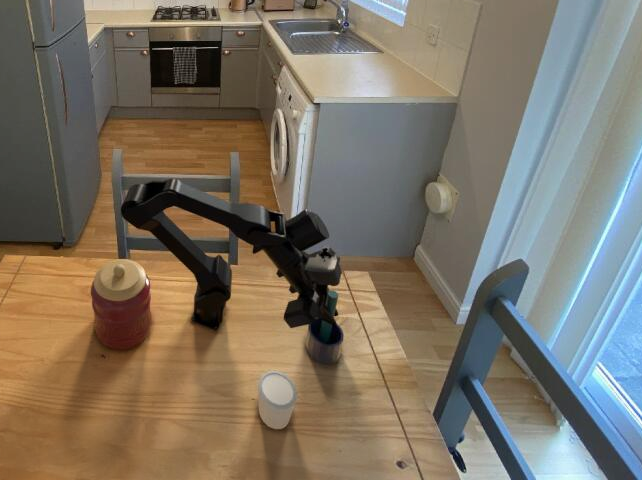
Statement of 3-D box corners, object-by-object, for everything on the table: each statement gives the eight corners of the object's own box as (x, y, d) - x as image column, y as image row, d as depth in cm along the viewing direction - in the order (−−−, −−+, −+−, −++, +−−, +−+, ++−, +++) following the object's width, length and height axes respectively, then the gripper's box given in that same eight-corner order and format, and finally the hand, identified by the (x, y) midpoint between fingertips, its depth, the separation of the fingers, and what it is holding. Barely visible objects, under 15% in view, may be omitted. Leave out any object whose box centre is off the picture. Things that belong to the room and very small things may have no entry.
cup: (303, 356, 88) (306, 338, 86) (307, 329, 94) (310, 312, 92) (338, 369, 86) (342, 351, 84) (340, 341, 91) (344, 323, 89)
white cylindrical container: (294, 437, 75) (299, 412, 72) (255, 428, 76) (258, 404, 73) (291, 397, 81) (295, 373, 78) (255, 390, 82) (257, 366, 80)
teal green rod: (318, 341, 88) (327, 296, 83) (319, 333, 90) (328, 288, 85) (328, 344, 88) (338, 299, 82) (329, 336, 89) (338, 291, 84)
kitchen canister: (142, 295, 104) (140, 239, 97) (159, 341, 92) (157, 281, 85) (90, 310, 100) (83, 252, 93) (100, 359, 89) (94, 298, 82)
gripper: (308, 279, 74) (365, 351, 73) (328, 219, 89) (376, 278, 88) (261, 294, 81) (313, 360, 80) (287, 235, 96) (331, 291, 95)
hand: (335, 319), depth 86 cm, fingers closed on teal green rod, 2 cm apart
